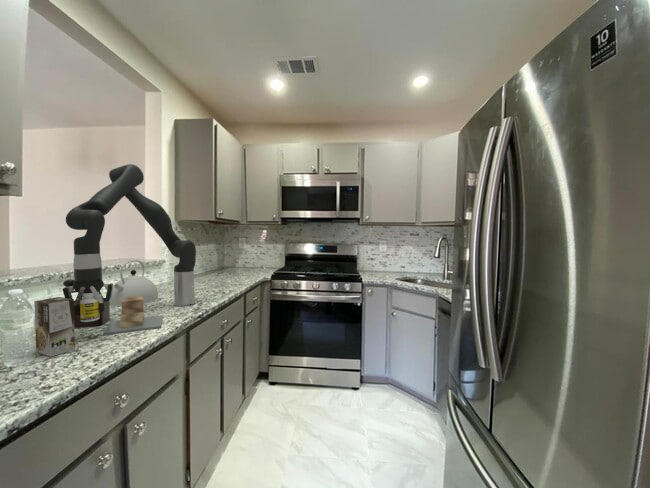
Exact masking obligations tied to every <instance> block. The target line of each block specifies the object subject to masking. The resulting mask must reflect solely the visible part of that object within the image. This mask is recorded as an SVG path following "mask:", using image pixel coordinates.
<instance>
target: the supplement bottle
mask: <svg viewBox="0 0 650 488" xmlns="http://www.w3.org/2000/svg"><path fill="white" fill-rule="evenodd" d="M96 295H97V294H96ZM82 297H83V299H82V300H80V320H81V321H82V322H90V321H95V320H98V319H99V318H100V314H99V301H98V299H97V298H96V297H95V295H94V294H93V293H85V294H83V295H82Z"/></svg>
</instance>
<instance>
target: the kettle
mask: <svg viewBox="0 0 650 488" xmlns="http://www.w3.org/2000/svg"><path fill="white" fill-rule="evenodd" d="M133 262H137V263H139V264H140V265H141V267H142V273H141V275H136V274H137V271H136V269H132V270H131V271H130V274H131V275H129V276H125V277H123V270H124V268H125V267H126V266H127V265H128V264H129V263H133ZM119 274H120V275H119V276H120V279H119V280H118V281H117V282H115V283H113V289H112V295H111V299H110V307H115V306H121V308H122V298H130V297H140V296H142V297H143V305H146V304H151V303H154V302H157V301H158V300H159V293H158V288H157V285H156V284H155V283H154V282H153V281H152V280H151V279H149V278H147V277H144V276H145V266H144V264H143V262H142V261H140V260H139V259H131V260H129V261H126V262H125V263H124V264H123V265H122V266H121V268H120V271H119Z"/></svg>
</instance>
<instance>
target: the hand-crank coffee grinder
mask: <svg viewBox="0 0 650 488" xmlns="http://www.w3.org/2000/svg"><path fill="white" fill-rule="evenodd" d="M62 285H63V286H64V288H65V287H70V286H73V285H74V279H71V278H70V279H67V280H66V279H65V280H63V283H62ZM74 293H78V292H77V291H75V290H74V289H73V291H72V292H71V294H74ZM82 299H83V298H82ZM110 307H111V306H110V300H109V301H106V302H105V310H104V312H103V313H102V314H100V318H99V319H98V320H95V321H90V322H82V321H81V320H80V316H77V315H75V310H74V329H81V328H84V329H85V328H93V327H101V326H103V325H104V324H106V323H107V322H109V321H110V320H111V316H110V315H111V313H110V312H111V309H110Z"/></svg>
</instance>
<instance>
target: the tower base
mask: <svg viewBox="0 0 650 488" xmlns="http://www.w3.org/2000/svg"><path fill="white" fill-rule="evenodd" d="M119 318H120V319H119V320H120V323H121V328H123V327H131V326H139V325H143V322H144V318H145V311H144V312H140V313H132V314H125V315H122V312H121V313H120V314H119Z"/></svg>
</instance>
